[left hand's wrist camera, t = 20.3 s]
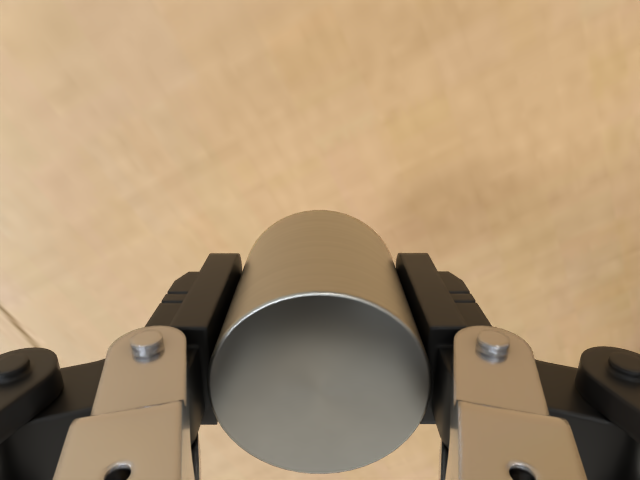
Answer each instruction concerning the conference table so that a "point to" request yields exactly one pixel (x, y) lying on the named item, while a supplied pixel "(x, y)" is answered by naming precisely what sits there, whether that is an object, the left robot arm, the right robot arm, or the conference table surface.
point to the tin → (319, 349)
